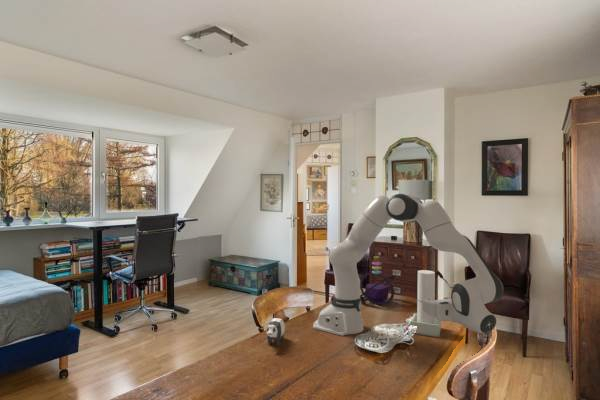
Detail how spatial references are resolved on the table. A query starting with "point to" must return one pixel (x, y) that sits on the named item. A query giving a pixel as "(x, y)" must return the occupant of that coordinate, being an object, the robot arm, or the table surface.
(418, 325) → the box
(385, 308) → the table surface
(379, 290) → the decorative bottle
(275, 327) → the giant panda
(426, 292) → the cylindrical container
